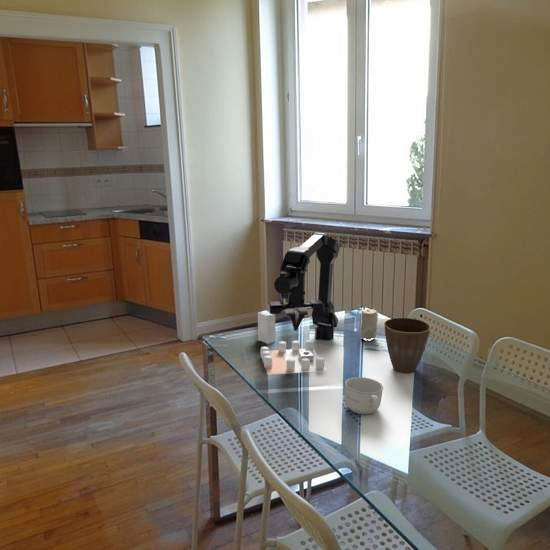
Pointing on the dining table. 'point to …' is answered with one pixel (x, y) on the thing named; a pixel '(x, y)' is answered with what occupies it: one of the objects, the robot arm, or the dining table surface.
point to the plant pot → (406, 342)
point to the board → (290, 359)
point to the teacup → (363, 394)
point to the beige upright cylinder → (368, 324)
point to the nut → (306, 355)
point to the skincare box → (266, 327)
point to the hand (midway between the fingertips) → (295, 330)
